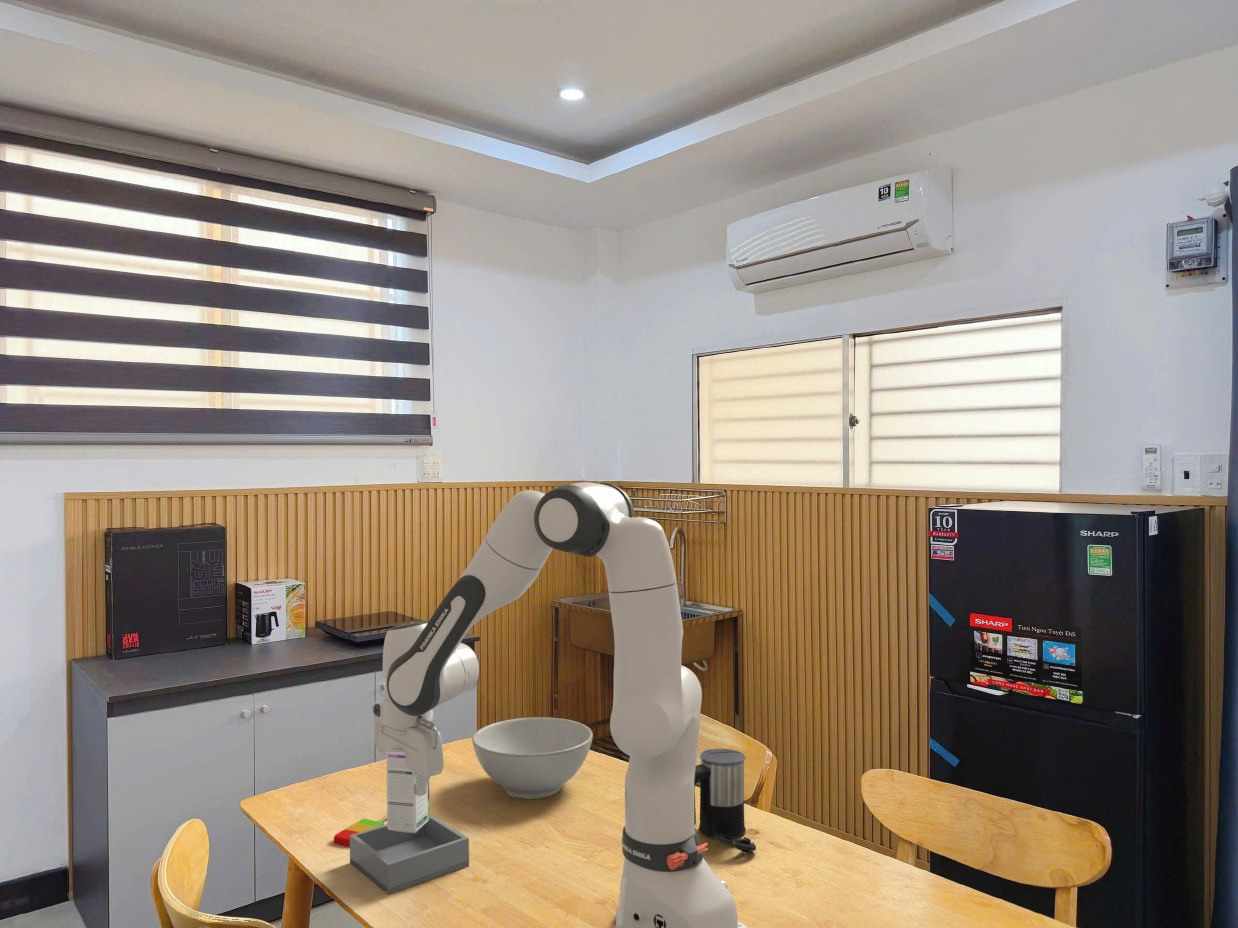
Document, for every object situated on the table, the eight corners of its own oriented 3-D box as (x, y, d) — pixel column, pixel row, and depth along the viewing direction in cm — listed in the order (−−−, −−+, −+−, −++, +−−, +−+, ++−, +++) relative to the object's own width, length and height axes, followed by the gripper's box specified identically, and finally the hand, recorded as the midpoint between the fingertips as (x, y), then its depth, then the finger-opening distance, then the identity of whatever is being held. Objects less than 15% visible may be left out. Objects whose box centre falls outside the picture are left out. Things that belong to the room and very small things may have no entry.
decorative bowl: (485, 766, 206) (485, 716, 206) (596, 767, 205) (596, 717, 205) (460, 812, 179) (459, 754, 179) (588, 813, 178) (588, 754, 178)
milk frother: (718, 816, 176) (718, 744, 176) (784, 839, 165) (783, 762, 165) (673, 838, 166) (672, 761, 166) (740, 864, 155) (739, 782, 155)
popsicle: (330, 845, 165) (330, 835, 165) (381, 815, 179) (381, 806, 179) (353, 850, 163) (353, 840, 163) (403, 819, 176) (403, 810, 176)
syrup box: (415, 833, 152) (416, 752, 152) (385, 830, 154) (385, 749, 154) (430, 820, 158) (430, 741, 158) (400, 817, 159) (401, 739, 159)
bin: (469, 865, 155) (468, 837, 155) (388, 894, 145) (388, 864, 145) (427, 837, 167) (426, 812, 167) (350, 862, 156) (349, 835, 157)
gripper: (452, 720, 150) (452, 799, 150) (398, 696, 165) (398, 768, 165) (419, 727, 146) (420, 809, 146) (367, 702, 161) (367, 776, 161)
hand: (408, 787), depth 156 cm, fingers closed on syrup box, 7 cm apart
